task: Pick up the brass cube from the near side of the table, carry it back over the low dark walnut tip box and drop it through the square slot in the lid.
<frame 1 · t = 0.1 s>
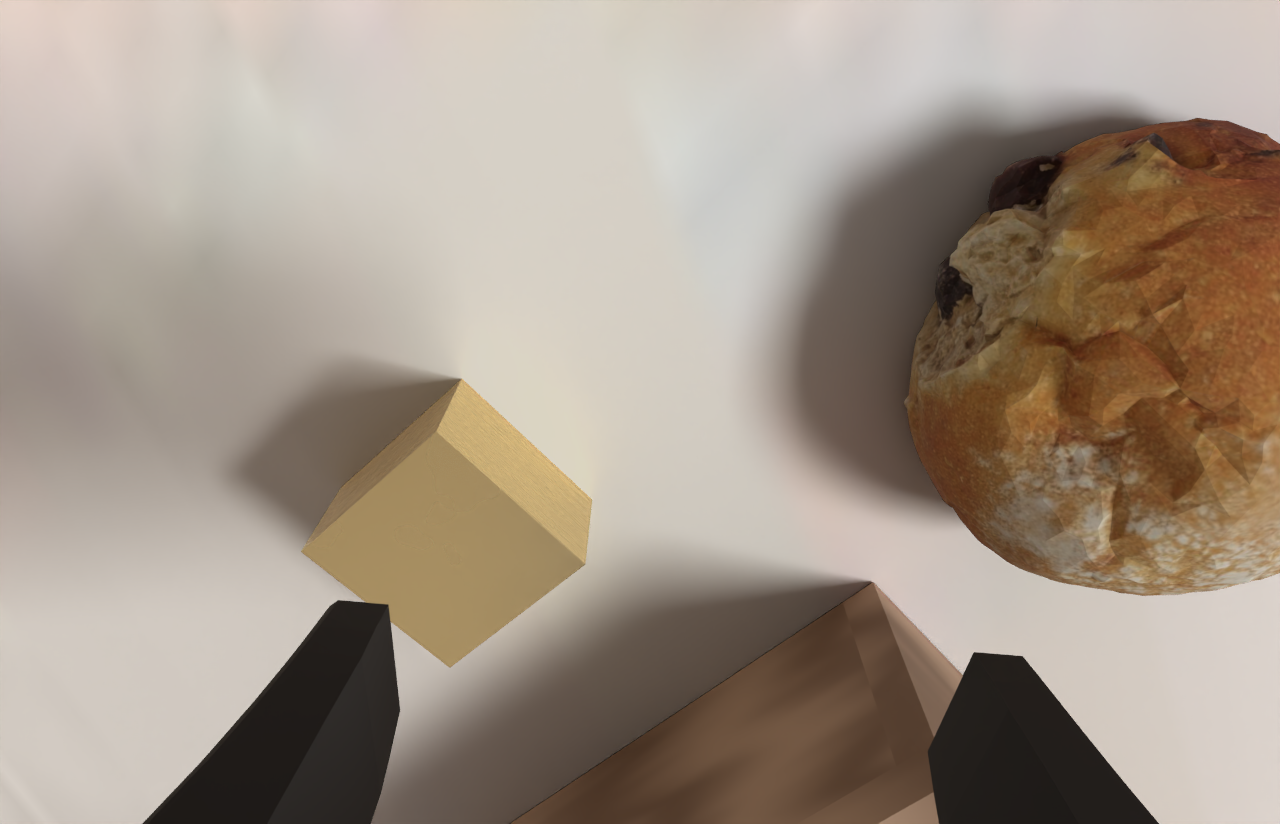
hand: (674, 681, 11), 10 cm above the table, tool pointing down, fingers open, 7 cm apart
bread roll: (1098, 334, 20), on the table
brass cube: (468, 489, 22), on the table
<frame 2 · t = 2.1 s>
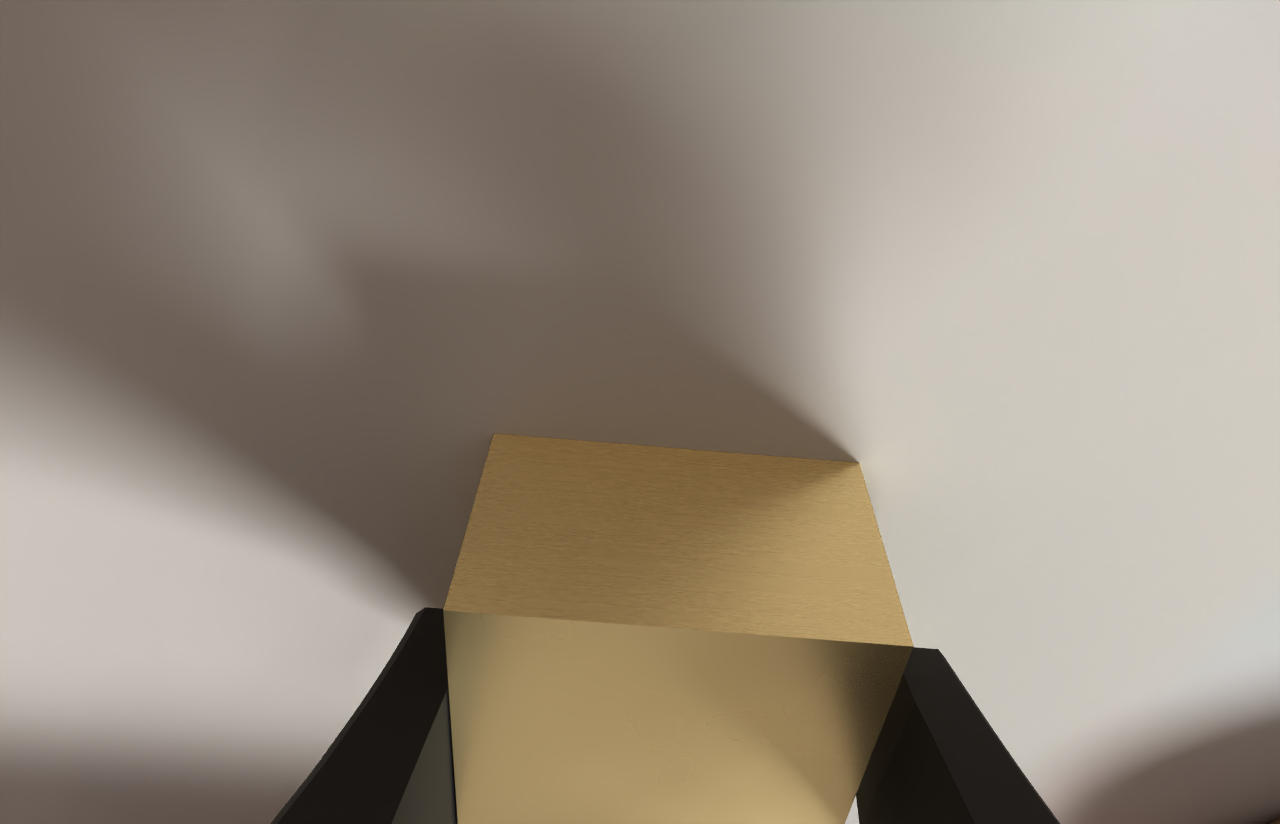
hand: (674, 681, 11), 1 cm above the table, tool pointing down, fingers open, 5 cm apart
brass cube: (660, 571, 12), on the table, touching gripper
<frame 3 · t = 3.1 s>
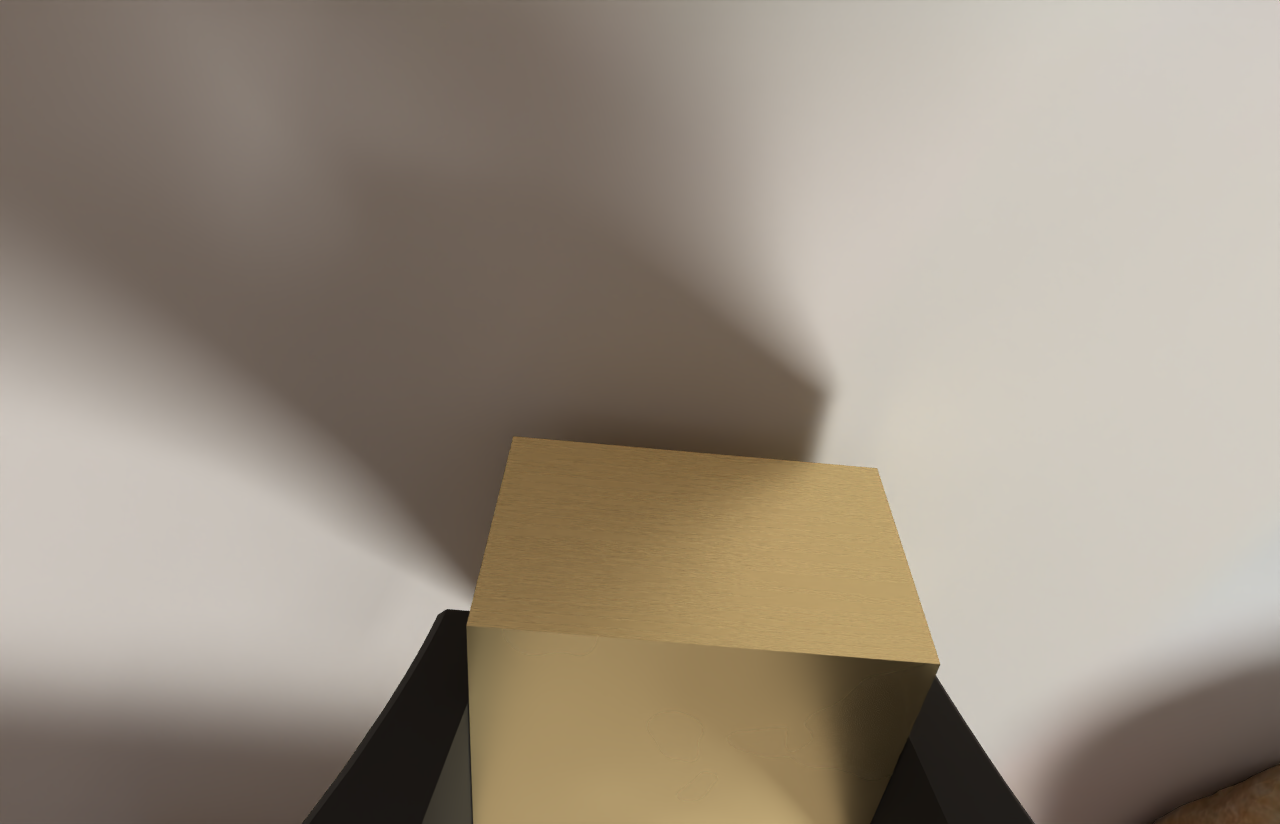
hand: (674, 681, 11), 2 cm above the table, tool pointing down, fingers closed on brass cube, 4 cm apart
brass cube: (675, 581, 12), point 1 cm above the table, touching gripper
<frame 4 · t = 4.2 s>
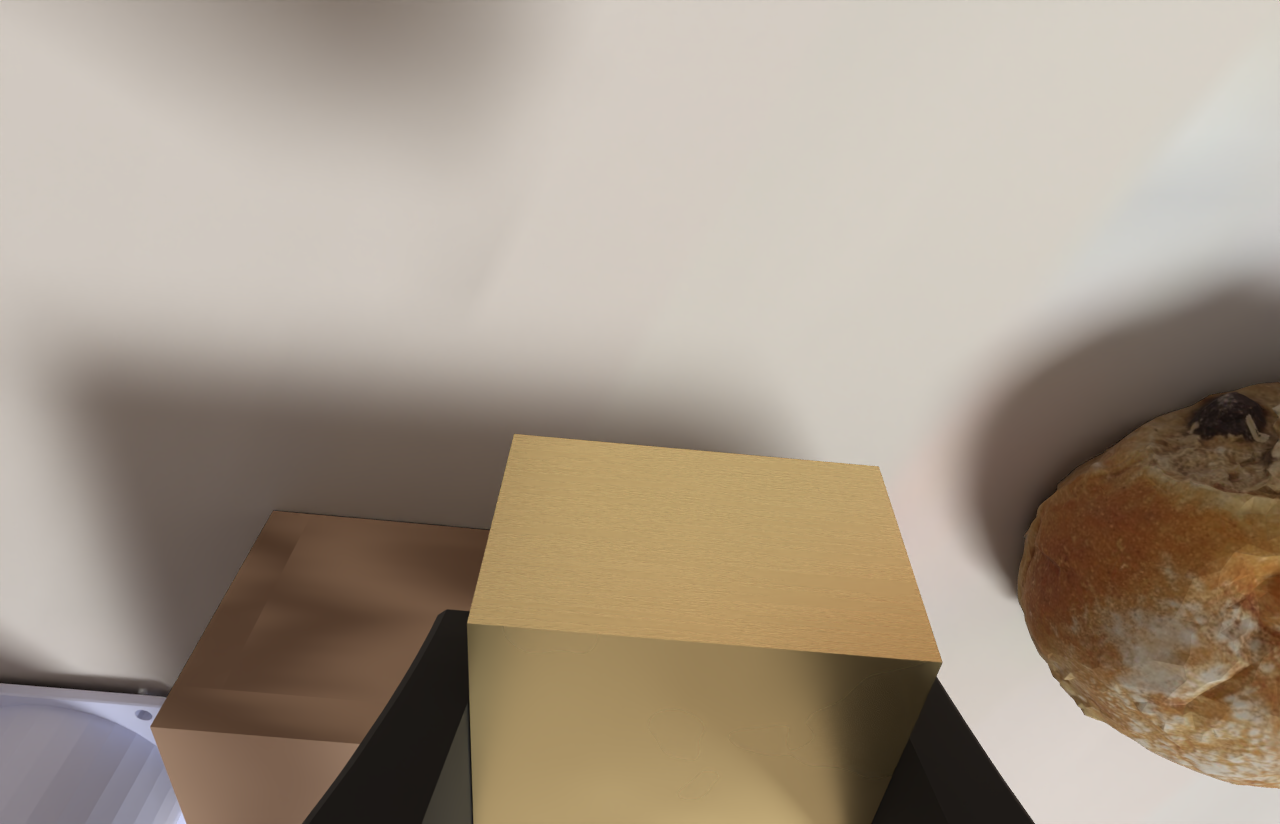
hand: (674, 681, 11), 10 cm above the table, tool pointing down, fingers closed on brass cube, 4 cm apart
bread roll: (1202, 518, 22), on the table
coin box: (564, 723, 27), on the table
brass cube: (676, 580, 12), point 8 cm above the table, touching gripper
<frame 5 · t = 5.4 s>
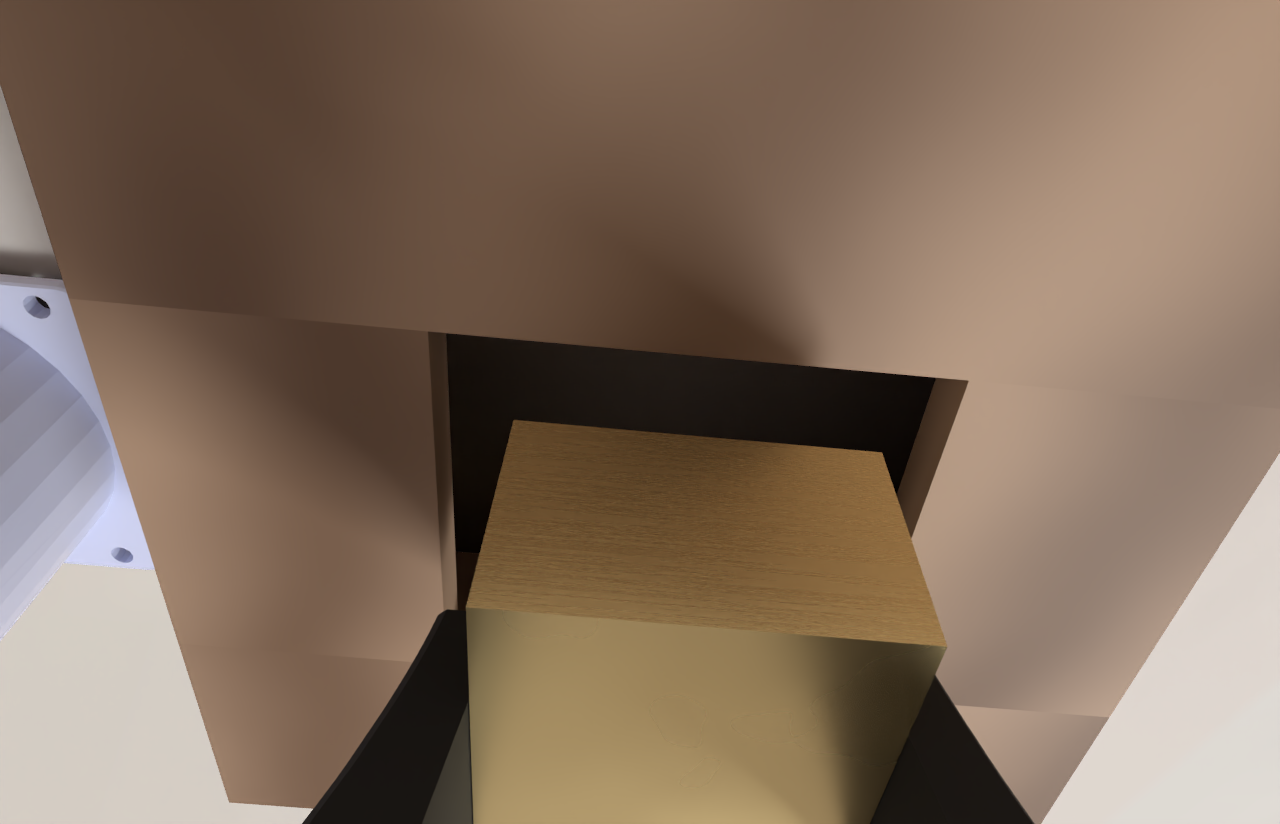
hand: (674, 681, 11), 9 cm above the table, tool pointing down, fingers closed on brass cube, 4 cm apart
coin box: (670, 329, 18), on the table
brass cube: (677, 568, 12), point 8 cm above the table, touching gripper
when the fingers open (9 cm above the table, at t = 6.3 s): brass cube drops 8 cm, resting in coin box.
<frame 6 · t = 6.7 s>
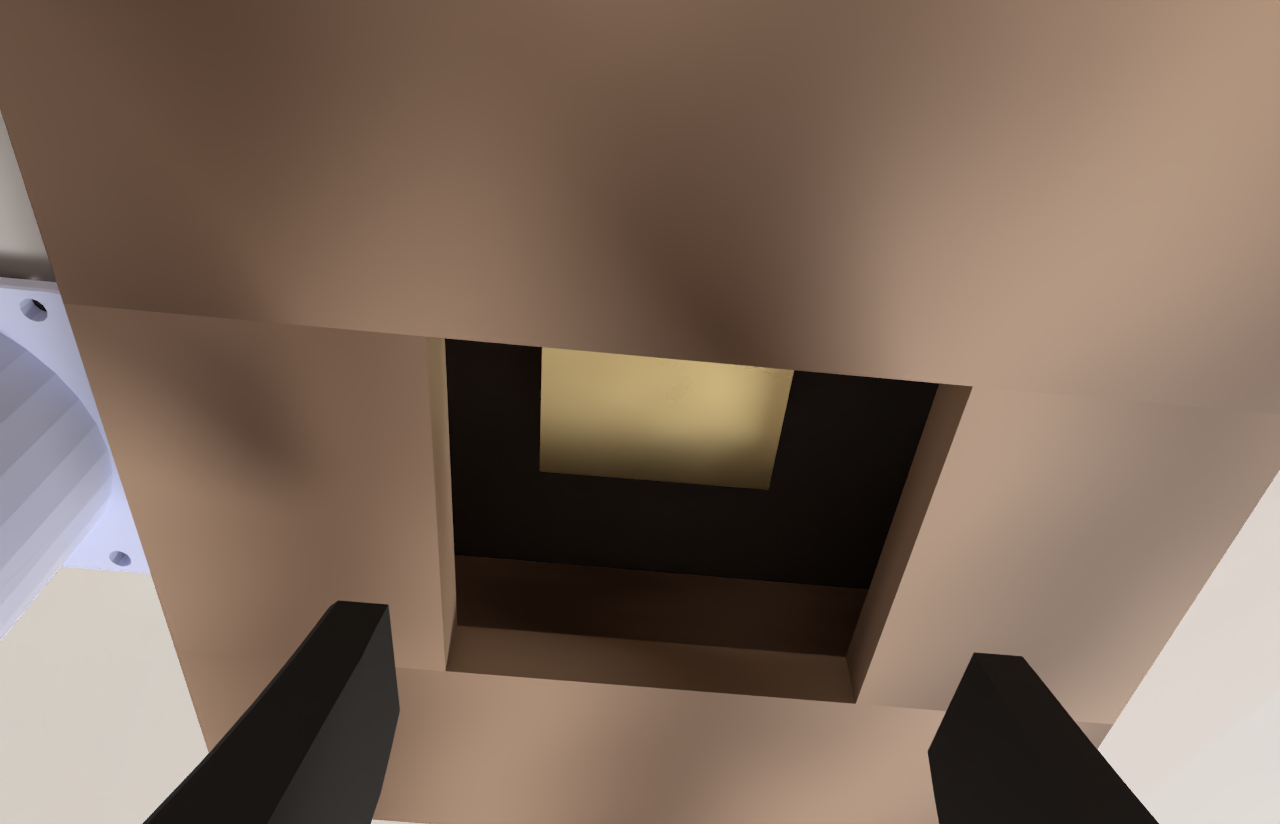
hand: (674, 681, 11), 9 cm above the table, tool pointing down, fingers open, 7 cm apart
coin box: (671, 332, 18), on the table
brass cube: (665, 306, 18), resting in coin box
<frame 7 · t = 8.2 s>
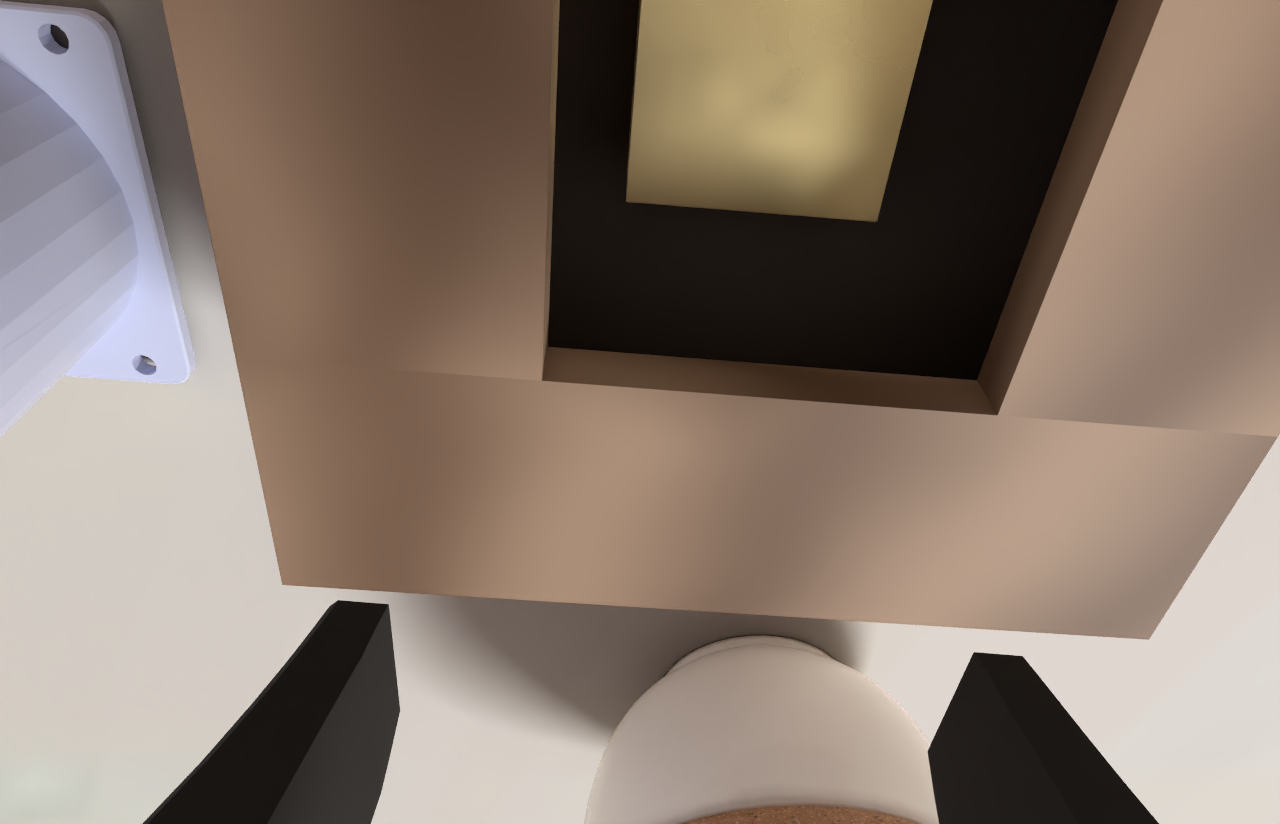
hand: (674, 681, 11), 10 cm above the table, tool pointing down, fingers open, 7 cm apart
lidded jar: (751, 693, 28), on the table
coin box: (760, 69, 17), on the table
brass cube: (754, 40, 17), resting in coin box
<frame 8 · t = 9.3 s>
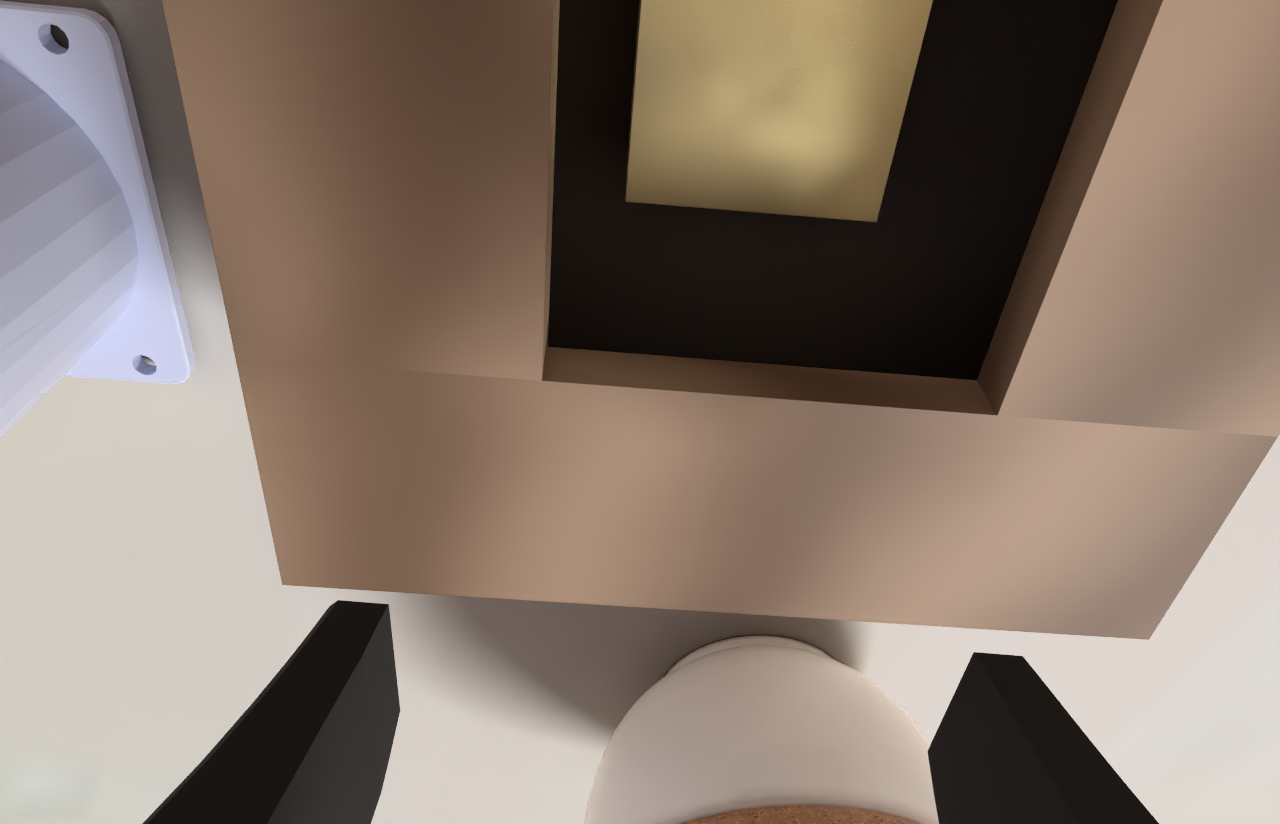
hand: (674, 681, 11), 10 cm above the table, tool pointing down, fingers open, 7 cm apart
lidded jar: (751, 693, 28), on the table
coin box: (760, 69, 17), on the table
brass cube: (754, 40, 17), resting in coin box
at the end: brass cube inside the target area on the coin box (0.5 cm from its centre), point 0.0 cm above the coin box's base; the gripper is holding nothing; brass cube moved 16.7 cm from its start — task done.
